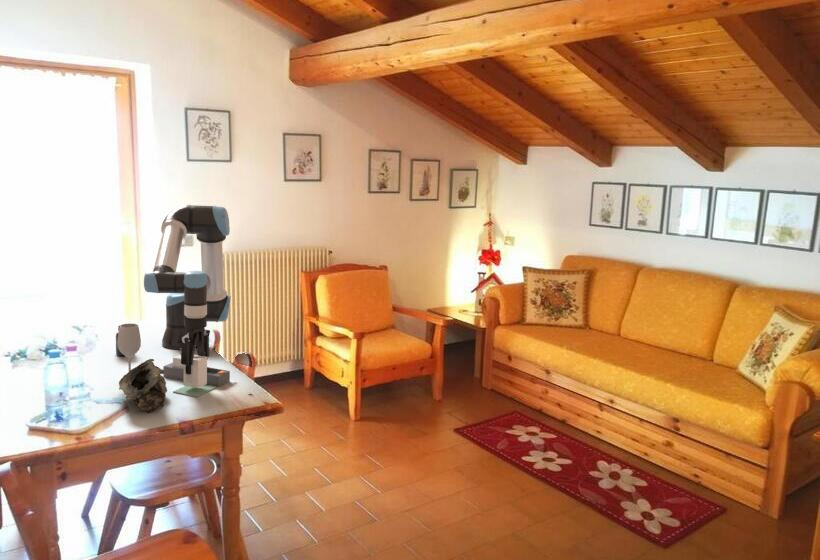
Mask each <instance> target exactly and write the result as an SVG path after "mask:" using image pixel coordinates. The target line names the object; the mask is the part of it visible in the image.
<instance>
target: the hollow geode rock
mask: <svg viewBox="0 0 820 560" xmlns="http://www.w3.org/2000/svg"><path fill="white" fill-rule="evenodd" d="M154 361H155V359H154V358H149V359H147V360H145V361H144V362H141V363H139V365H137V366H136V367H133V368H131V370H130V372H129V371H128V372H127V373H126V374H124V375H123V376H122V378H121V379H119V381H118V386H119V388H118V389H119V390H120V391H122V392H123V394H124V395H125V399H127V400H128V399H129V400H134V401H135V404H136V405H135V406H136V407H137V409H138V410H139V411H141V412H145V413H148V414H150V413H154V412H155V411H157V410H158V409H160V408H161V407H164V404H165V401H166V400H165V398H166V397H167V396H166V393H167V392H168V389H167V381H166V378H164V376H163V375H161V374H162V372H161V370H160V369H161V368H160V367H158V366H157V365H155V364H154Z"/></svg>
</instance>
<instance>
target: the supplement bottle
mask: <svg viewBox="0 0 820 560" xmlns="http://www.w3.org/2000/svg"><path fill="white" fill-rule="evenodd" d="M117 327H118V329H117V331H118V332H116V334H115V355H116V356H118V357H121V358H125V357H126V356H125V355H124V354H122V353H121V352H120V351H119V348H118V333H119V328H120V325H118V326H117ZM126 358H127V357H126Z"/></svg>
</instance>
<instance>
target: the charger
mask: <svg viewBox="0 0 820 560" xmlns="http://www.w3.org/2000/svg"><path fill="white" fill-rule="evenodd" d="M207 358H208V357H205V356H199V355H198V354H194V357H193V363H192V365H194V383H187V382H186V366H185V365H184V380H183V387H184V386H189V387H195V388H199V387H201V386H204V385H206V384H207V367H208V359H207Z"/></svg>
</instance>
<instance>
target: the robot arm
mask: <svg viewBox="0 0 820 560" xmlns="http://www.w3.org/2000/svg"><path fill="white" fill-rule="evenodd" d="M160 230H161V233H162V234H161V239H160V243H159V247H158V251H157V255H156V259H155V261H154V265H153V266H154V267H153V270H151V271H146V272H145V273H144V276H143V289H144V291H145V292H147V293H150V294H151V293H152V294H153V293H154V294H168V295H167V296H166V299H165V300H166V302H165V303H166V304H165V312H166V313H165V315H166V318H165V319H166V321H165V322H166V323H165V324H166V326H165V331H164V334H163V337H162V339H161V346H162V347H164V348H166V349H174V350H179V349H180V355H181V364H183V365H185V366H186V382H187V383H194V365H192V363H193V357H194V355H195V352H196V355H199V356H205V357H207V360H208V359H209V356H210V335H211V334H210V333H211V330H210V329H206V327H207V326H208V322H209V323H210V322H211V323H212V322H216V323H219V322H226V321H227V320H228V317H229V312H230V311H229V310H230V304H231V297H232V296H231V295H229V294H228V291H227V289H225V288H224V268H223V267H224V266H223V265H224V262H223V261H224V260H223V259H224V258H223V242H224V241H225V240H226V238H227V236H229V235H230V217H229V213H228V210H227V209H226V208H225V207H224V206H216V205H193V204H184V205H181V206H179V207H178V206H177V207H176V208H174V209H173V210H171V211H170V212H169V213H168V214H167V215H166V216H165V218H164V220H163V222H162V223H161V228H160ZM187 235H195V236H196V241H198V242H200V255H201V256H200V258H201V260H200V261H201V270H191V271H186V272H184V271H183V272H180V271H179V272H178V271H177V267H178V261H179V258H180V255H181V254H180V253H181V248H182V245H183V244H182V243H183V241H184V240H183V239H184V238H185V237H186V236H187ZM195 349H196V351H195Z"/></svg>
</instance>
